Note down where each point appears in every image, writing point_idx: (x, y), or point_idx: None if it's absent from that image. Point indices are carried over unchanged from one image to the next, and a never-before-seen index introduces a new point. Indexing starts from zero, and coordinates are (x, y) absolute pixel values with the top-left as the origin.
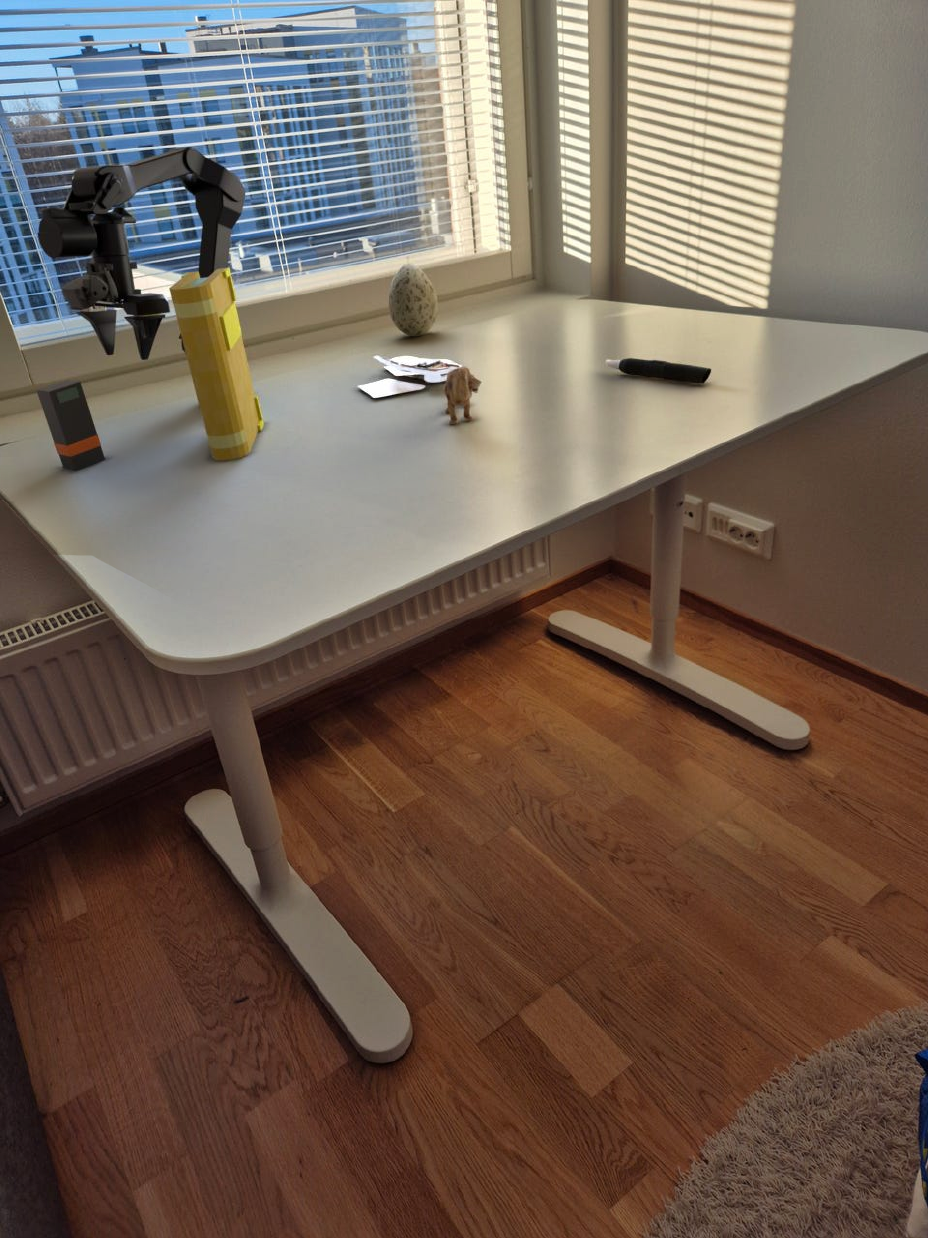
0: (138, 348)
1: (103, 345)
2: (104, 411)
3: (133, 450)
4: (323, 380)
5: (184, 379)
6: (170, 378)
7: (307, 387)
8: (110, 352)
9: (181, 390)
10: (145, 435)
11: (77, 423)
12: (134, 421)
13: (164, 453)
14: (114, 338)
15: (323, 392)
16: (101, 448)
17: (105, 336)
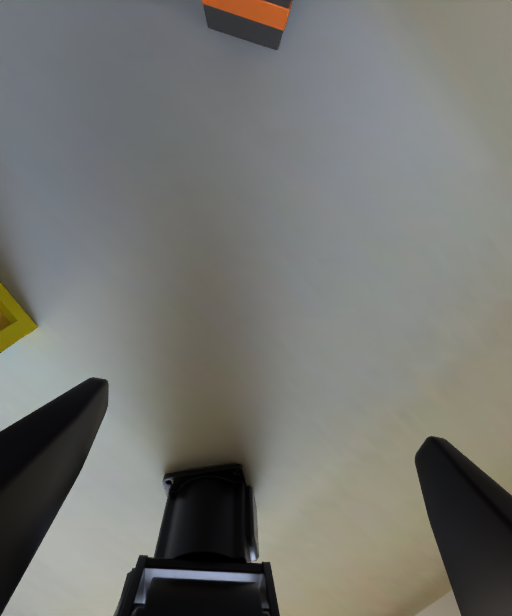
0: (55, 421)
1: (484, 482)
2: (490, 400)
3: (173, 127)
4: (77, 597)
5: (412, 575)
6: None
7: (76, 565)
8: (427, 457)
9: (373, 527)
10: (237, 254)
11: None
12: (353, 347)
13: (40, 112)
14: (448, 571)
15: None
16: (204, 7)
17: (504, 562)
